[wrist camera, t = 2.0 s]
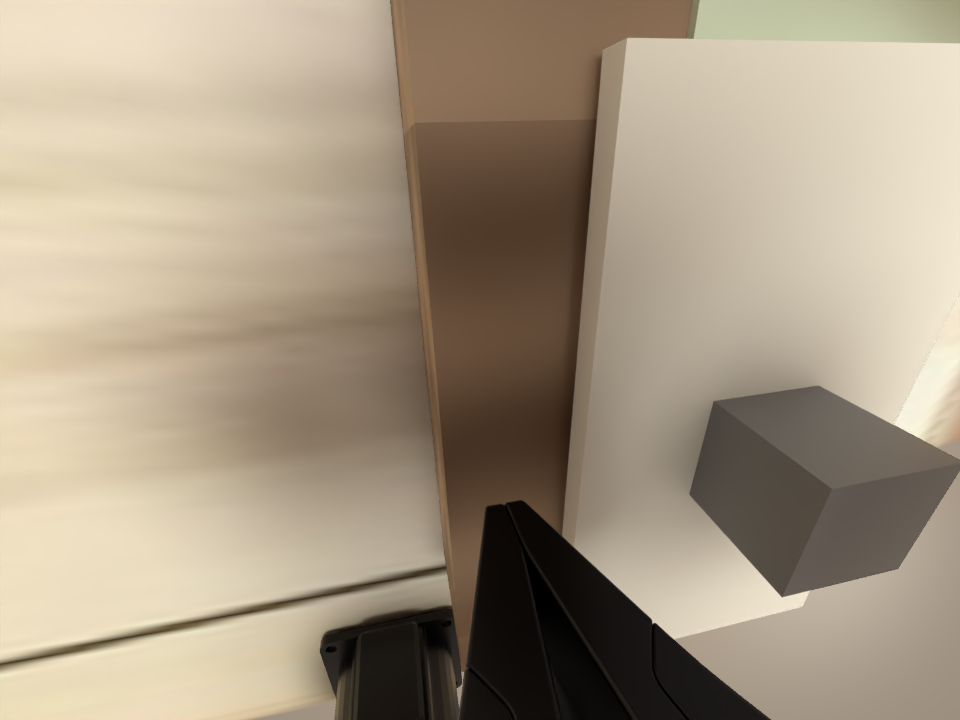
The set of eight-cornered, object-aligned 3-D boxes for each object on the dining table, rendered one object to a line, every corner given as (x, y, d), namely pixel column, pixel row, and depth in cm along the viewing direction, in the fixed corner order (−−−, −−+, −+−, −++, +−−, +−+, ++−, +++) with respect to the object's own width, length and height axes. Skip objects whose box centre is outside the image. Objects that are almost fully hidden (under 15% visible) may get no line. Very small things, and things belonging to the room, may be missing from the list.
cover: (783, 587, 16) (887, 699, 13) (552, 643, 15) (602, 787, 11) (1027, 54, 9) (1439, -12, 5) (602, 49, 7) (801, -50, 4)
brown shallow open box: (745, 494, 22) (841, 584, 17) (444, 553, 19) (462, 677, 15) (975, -174, 11) (1387, -406, 7) (365, -254, 8) (342, -739, 4)
